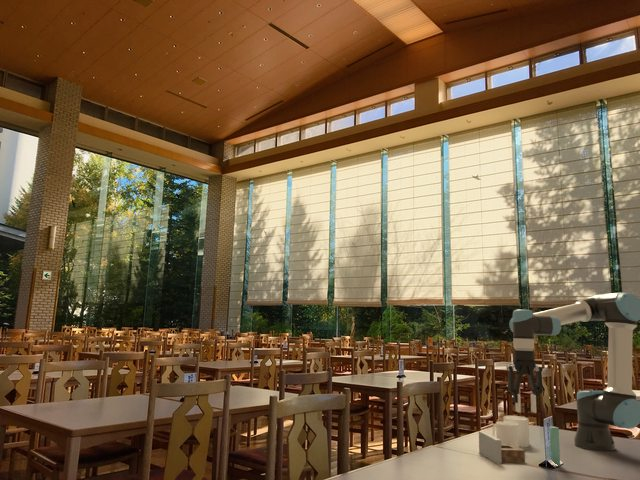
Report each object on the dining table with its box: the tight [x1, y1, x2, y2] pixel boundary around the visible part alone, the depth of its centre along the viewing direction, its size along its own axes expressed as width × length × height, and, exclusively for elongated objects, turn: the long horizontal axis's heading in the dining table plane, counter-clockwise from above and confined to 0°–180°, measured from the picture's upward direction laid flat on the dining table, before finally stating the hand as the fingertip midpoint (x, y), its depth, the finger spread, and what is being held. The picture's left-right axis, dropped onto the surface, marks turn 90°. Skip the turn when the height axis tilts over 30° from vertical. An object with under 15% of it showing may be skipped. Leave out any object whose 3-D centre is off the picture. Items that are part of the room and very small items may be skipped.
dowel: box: [549, 426, 561, 467], centre depth 184 cm, size 3×3×13 cm
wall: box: [478, 430, 503, 465], centre depth 191 cm, size 2×16×8 cm, turn 4°
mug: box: [503, 415, 531, 448], centre depth 219 cm, size 14×10×11 cm
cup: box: [492, 420, 518, 447], centre depth 208 cm, size 8×12×10 cm
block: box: [501, 444, 526, 463], centre depth 191 cm, size 10×10×4 cm
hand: (526, 411), depth 195 cm, fingers open, 5 cm apart
